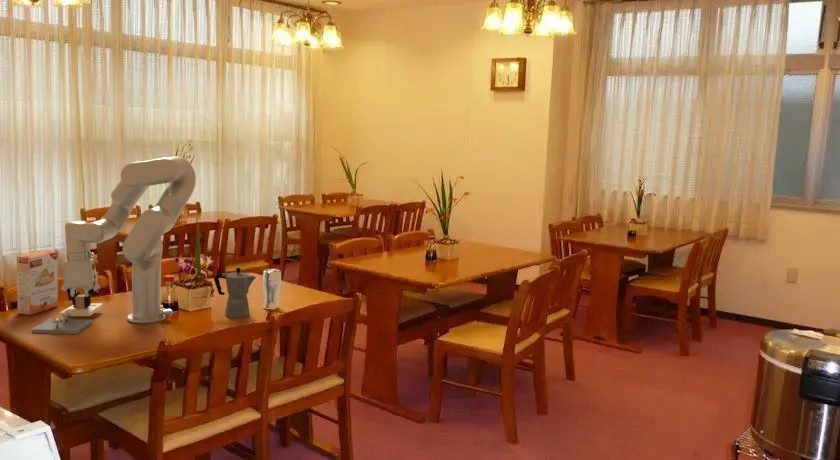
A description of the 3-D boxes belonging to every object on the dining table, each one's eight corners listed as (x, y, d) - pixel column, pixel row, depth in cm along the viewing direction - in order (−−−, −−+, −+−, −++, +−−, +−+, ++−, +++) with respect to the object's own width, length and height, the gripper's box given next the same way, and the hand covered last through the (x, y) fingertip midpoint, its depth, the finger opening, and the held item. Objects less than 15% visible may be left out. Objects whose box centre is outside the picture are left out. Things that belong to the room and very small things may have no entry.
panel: (103, 306, 259) (102, 291, 258) (89, 316, 246) (88, 300, 245) (75, 306, 258) (74, 291, 257) (59, 316, 245) (58, 300, 244)
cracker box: (31, 316, 249) (30, 257, 246) (16, 314, 250) (15, 256, 247) (59, 306, 262) (58, 251, 259) (45, 304, 263) (43, 249, 260)
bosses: (72, 320, 242) (71, 312, 242) (59, 328, 233) (59, 320, 232) (64, 320, 242) (64, 312, 242) (51, 328, 232) (51, 320, 232)
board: (92, 323, 244) (92, 319, 244) (76, 334, 232) (76, 330, 231) (50, 321, 243) (50, 318, 243) (32, 332, 231) (32, 329, 230)
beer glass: (258, 308, 275) (259, 271, 272) (268, 305, 281) (269, 268, 279) (273, 311, 272) (274, 273, 270) (283, 307, 278) (284, 270, 276)
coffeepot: (257, 312, 270) (258, 266, 267) (252, 319, 260) (253, 271, 258) (216, 310, 269) (217, 264, 266) (210, 317, 260) (210, 269, 257)
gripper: (106, 254, 253) (109, 304, 256) (59, 254, 252) (62, 304, 255) (98, 258, 246) (101, 309, 249) (49, 258, 245) (53, 309, 248)
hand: (81, 306), depth 252 cm, fingers closed on panel, 3 cm apart
